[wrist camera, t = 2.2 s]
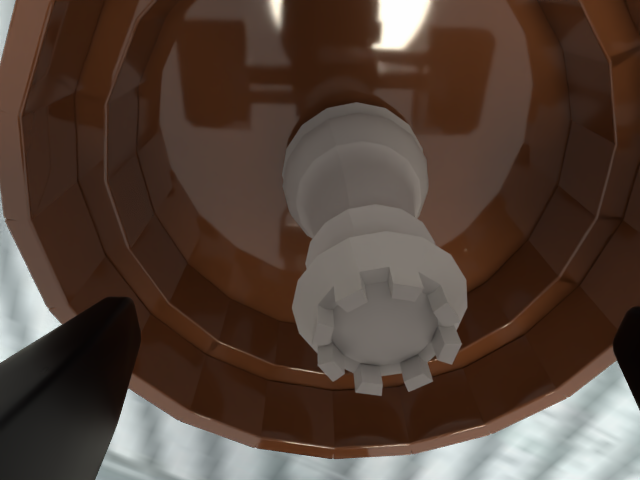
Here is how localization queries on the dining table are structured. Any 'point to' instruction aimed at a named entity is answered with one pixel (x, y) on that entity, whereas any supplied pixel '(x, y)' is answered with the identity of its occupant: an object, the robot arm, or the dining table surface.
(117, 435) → the dining table surface
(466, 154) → the bowl
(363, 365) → the rook chess piece
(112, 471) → the dining table surface
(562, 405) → the dining table surface
